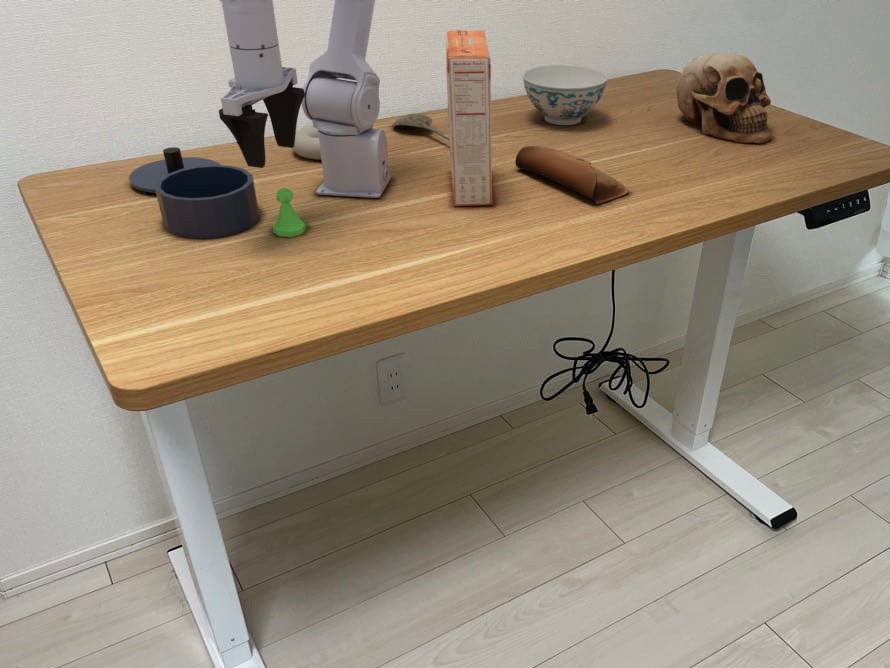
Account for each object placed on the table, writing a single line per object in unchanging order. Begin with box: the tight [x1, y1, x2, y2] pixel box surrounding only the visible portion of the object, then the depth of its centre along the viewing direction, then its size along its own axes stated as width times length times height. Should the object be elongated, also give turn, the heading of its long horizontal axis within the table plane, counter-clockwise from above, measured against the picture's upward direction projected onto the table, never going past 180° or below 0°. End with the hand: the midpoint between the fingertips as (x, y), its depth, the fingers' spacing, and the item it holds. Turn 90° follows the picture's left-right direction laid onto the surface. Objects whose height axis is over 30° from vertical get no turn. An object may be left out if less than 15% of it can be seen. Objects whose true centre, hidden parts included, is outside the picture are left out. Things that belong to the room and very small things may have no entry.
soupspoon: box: [392, 113, 450, 141], centre depth 143 cm, size 22×3×7 cm
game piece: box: [272, 187, 307, 238], centre depth 112 cm, size 4×4×6 cm
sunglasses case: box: [515, 145, 630, 205], centre depth 129 cm, size 18×7×7 cm
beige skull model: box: [676, 52, 772, 144], centre depth 150 cm, size 16×17×13 cm
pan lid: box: [128, 146, 222, 194], centre depth 126 cm, size 13×13×5 cm
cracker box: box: [445, 29, 493, 207], centre depth 121 cm, size 14×6×21 cm, turn 5°
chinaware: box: [522, 64, 608, 126], centre depth 152 cm, size 15×15×8 cm
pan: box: [155, 164, 260, 240], centre depth 115 cm, size 12×12×5 cm
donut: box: [292, 124, 322, 161], centre depth 137 cm, size 10×4×10 cm
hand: (271, 156), depth 109 cm, fingers open, 7 cm apart
